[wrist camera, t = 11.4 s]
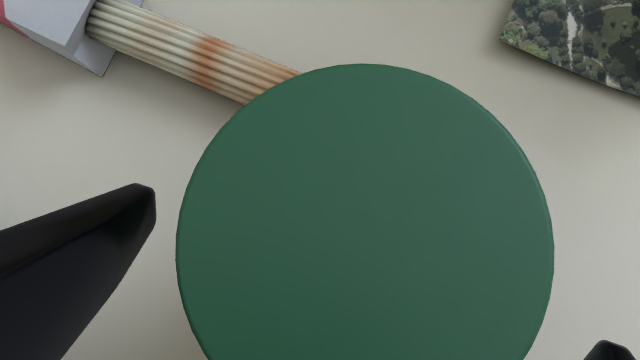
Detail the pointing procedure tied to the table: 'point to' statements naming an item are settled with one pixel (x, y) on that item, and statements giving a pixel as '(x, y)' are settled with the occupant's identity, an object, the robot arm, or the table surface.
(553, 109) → the table surface
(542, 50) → the green patterned tile
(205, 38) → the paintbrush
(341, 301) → the green cylinder
